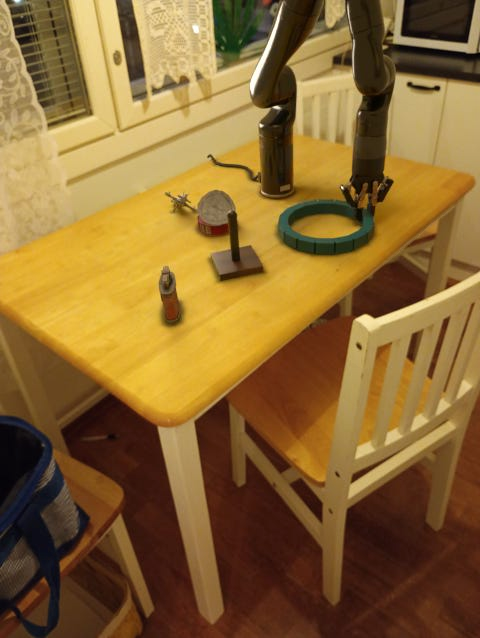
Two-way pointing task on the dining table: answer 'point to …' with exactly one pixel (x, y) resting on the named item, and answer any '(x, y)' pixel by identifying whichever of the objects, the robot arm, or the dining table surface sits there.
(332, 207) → the ring
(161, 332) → the dining table surface
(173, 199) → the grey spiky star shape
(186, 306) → the dining table surface
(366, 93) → the robot arm
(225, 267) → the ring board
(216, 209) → the canned food
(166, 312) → the lighter
